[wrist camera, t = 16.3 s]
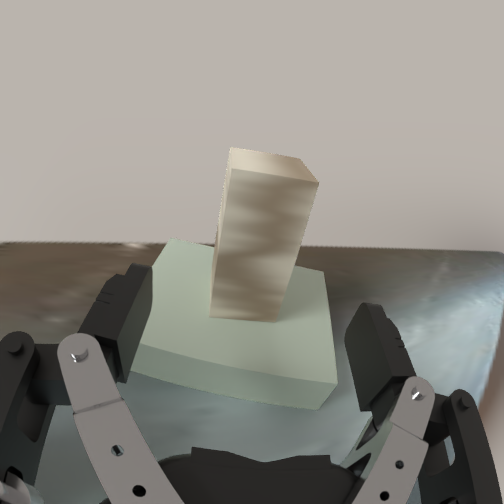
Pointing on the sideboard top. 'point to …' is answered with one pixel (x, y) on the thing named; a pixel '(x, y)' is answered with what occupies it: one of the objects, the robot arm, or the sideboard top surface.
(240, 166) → the maple block
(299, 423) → the sideboard top surface
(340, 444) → the sideboard top surface
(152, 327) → the sage block
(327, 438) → the sideboard top surface
